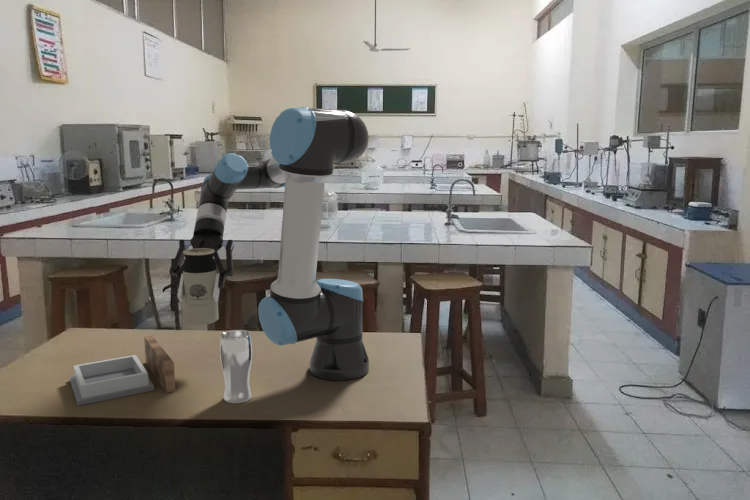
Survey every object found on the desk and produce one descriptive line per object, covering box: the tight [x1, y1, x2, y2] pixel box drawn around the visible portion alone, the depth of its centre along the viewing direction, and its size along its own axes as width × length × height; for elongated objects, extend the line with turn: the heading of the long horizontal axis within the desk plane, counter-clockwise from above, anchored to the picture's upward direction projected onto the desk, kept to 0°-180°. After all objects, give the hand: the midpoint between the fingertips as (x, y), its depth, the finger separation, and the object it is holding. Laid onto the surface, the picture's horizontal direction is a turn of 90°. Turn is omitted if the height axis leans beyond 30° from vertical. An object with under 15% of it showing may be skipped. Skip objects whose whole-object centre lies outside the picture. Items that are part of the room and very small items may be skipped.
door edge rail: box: [143, 335, 176, 394], centre depth 144 cm, size 22×2×7 cm, turn 33°
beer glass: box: [219, 329, 253, 405], centre depth 132 cm, size 7×7×15 cm
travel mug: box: [182, 248, 220, 326], centre depth 147 cm, size 8×8×18 cm
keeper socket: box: [69, 354, 155, 407], centre depth 139 cm, size 16×16×4 cm
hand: (197, 298), depth 144 cm, fingers closed on travel mug, 8 cm apart
